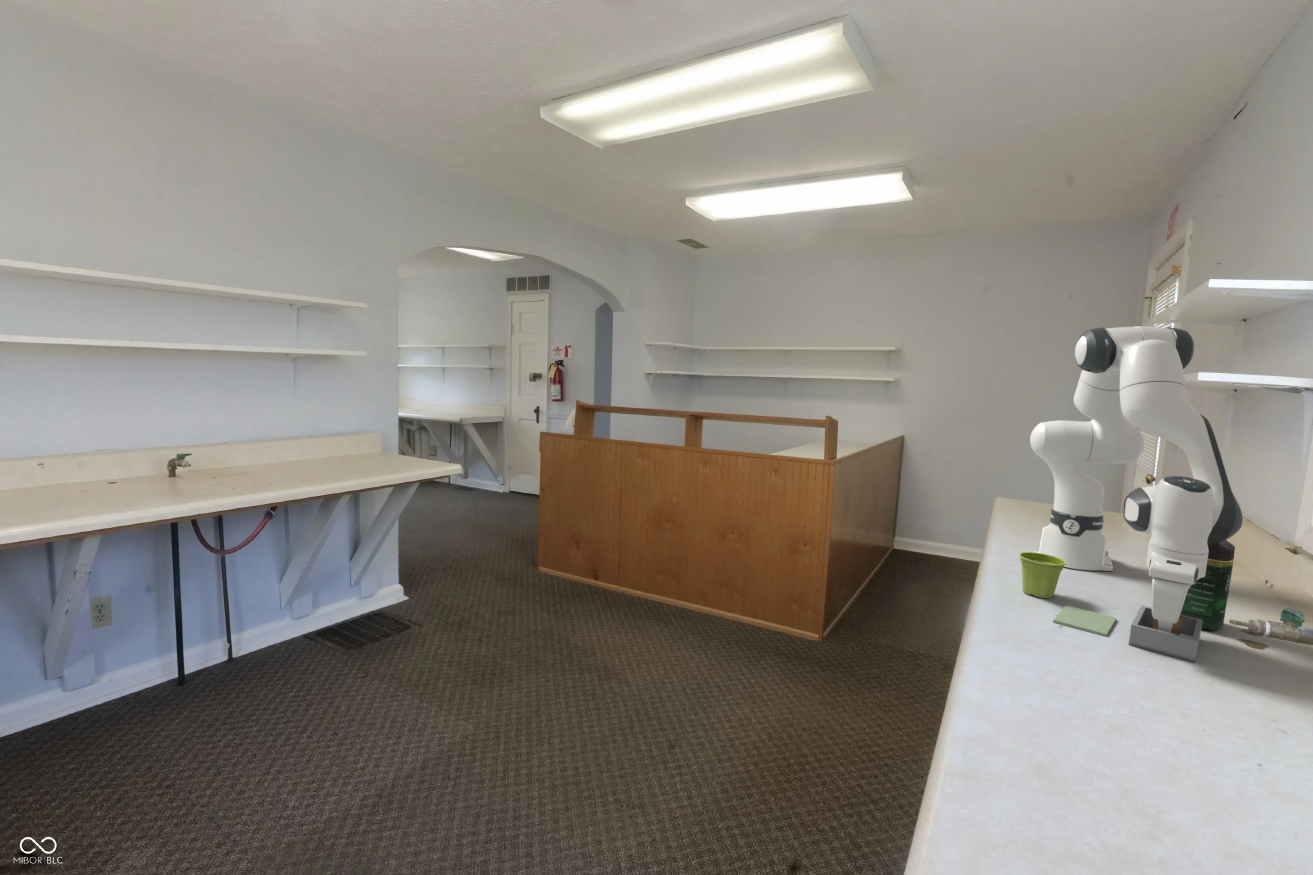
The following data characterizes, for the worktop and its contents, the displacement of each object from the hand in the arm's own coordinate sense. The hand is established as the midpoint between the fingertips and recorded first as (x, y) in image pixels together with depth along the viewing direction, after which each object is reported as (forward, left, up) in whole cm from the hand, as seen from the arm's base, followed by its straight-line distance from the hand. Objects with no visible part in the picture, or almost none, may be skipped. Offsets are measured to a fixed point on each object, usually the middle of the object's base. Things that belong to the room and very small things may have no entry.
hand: (1166, 631), depth 120 cm
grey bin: (0, 0, -2) cm, 2 cm away
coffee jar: (-18, +4, -2) cm, 19 cm away
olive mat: (0, -13, -2) cm, 13 cm away
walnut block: (0, 0, -2) cm, 2 cm away
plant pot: (-11, -24, -2) cm, 27 cm away
